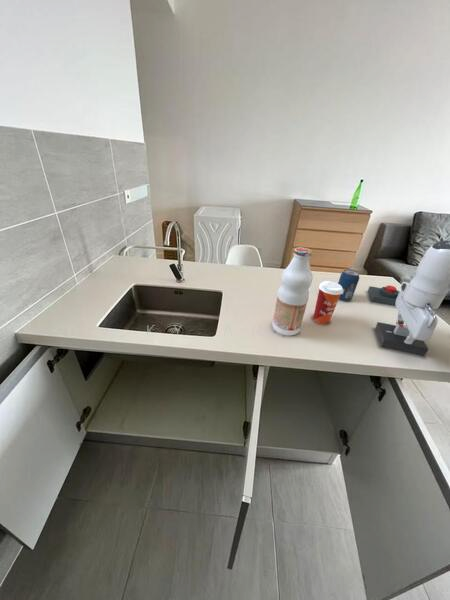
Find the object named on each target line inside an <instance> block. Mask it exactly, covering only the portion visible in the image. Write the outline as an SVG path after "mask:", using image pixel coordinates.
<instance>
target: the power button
mask: <svg viewBox="0 0 450 600" xmlns="http://www.w3.org/2000/svg"><path fill="white" fill-rule="evenodd" d="M385 287H386V289H385V290H386V291H387V292H390V293H395V291H396V290H397V287H396V286H393V285H386V286H385Z"/></svg>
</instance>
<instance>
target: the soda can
mask: <svg viewBox="0 0 450 600" xmlns="http://www.w3.org/2000/svg"><path fill="white" fill-rule="evenodd" d="M359 281H360V273H359V271H356V270H355V269H354V270H353V269H347V268H346V269H344V270H343V271H342V272H341V273H340V276H339V279H338V282H337V283H338V284H339V285H341V286H342V290H343V293H342V294H341V295H340V297H339V300H338V301H342V302H349V301H351V300H352V299H353V298H354V294H355V291H356V289H357V286H358V284H359Z"/></svg>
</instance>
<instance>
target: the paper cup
mask: <svg viewBox="0 0 450 600" xmlns="http://www.w3.org/2000/svg"><path fill="white" fill-rule="evenodd" d="M318 288H319V289H318V293H317V299H316V303H315V307H314V313H313V320H314V321H315V322H316V323H319V324H324V325H326V324H329V323H330V321H331V319H332V316H333V314H334V312H335V309H336V307H337V304H338V303H339V301H340V300H339V297H340V295H341V294H342V293H343V290H342V286H341V285H339V284H338V282H335V281H330V280H325V281H322V282H320V284H319V285H318Z"/></svg>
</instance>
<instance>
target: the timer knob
mask: <svg viewBox="0 0 450 600" xmlns="http://www.w3.org/2000/svg"><path fill="white" fill-rule="evenodd" d="M395 326H396V327H395V329H394V331H393V332H394V334H395V335H400V336H405V337H406V336H409V333H410V332H409V330H408V328H407V326H406V324H403V325H402V324H396V325H395Z"/></svg>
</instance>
